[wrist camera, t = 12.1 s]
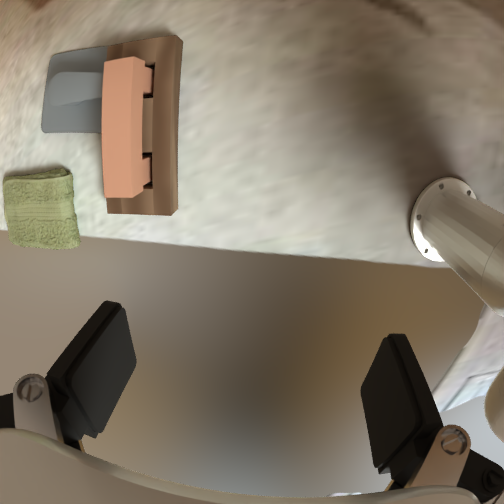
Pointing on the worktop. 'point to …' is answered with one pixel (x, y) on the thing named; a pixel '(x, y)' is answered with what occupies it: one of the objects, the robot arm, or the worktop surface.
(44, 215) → the washcloth
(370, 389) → the robot arm
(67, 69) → the shower valve
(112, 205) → the slotted rail
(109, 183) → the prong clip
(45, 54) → the worktop surface
